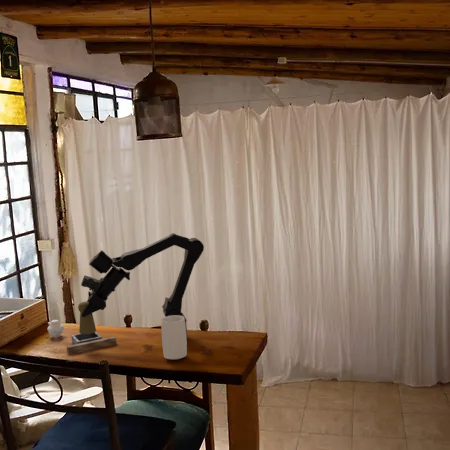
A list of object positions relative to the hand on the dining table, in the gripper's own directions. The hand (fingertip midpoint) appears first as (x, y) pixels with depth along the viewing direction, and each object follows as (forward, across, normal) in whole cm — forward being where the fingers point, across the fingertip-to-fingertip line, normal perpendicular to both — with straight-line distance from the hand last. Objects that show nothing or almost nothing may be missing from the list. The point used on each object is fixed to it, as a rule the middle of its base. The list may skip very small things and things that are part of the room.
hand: (82, 314), depth 202 cm
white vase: (+18, -20, +2) cm, 27 cm away
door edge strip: (+8, -1, +11) cm, 14 cm away
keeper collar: (+9, -8, +10) cm, 16 cm away
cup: (-12, +20, +31) cm, 39 cm away
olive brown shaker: (+4, 0, +6) cm, 7 cm away
